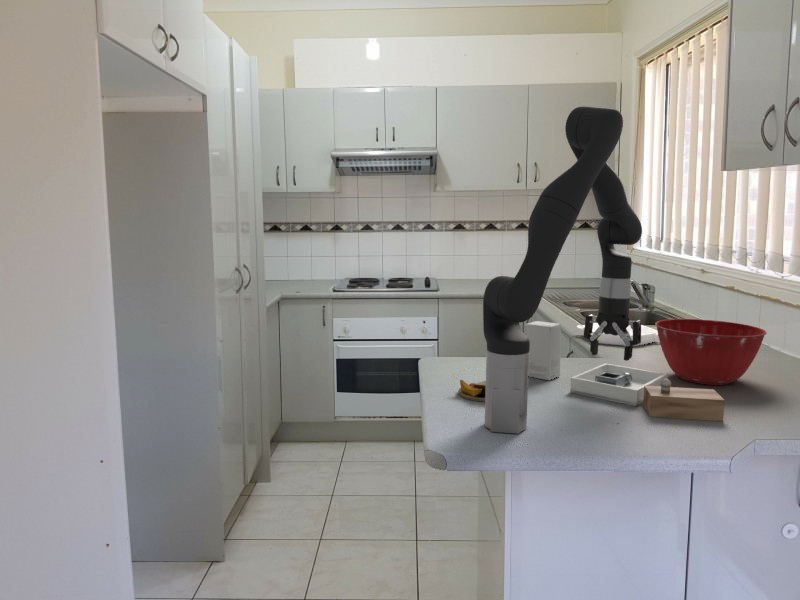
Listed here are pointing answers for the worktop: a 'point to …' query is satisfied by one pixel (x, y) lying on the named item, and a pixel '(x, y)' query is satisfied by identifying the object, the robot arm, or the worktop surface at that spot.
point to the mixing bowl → (709, 349)
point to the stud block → (683, 402)
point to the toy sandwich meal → (473, 390)
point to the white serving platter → (646, 333)
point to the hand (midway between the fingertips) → (610, 357)
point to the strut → (614, 378)
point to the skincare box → (544, 349)
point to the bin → (626, 395)
